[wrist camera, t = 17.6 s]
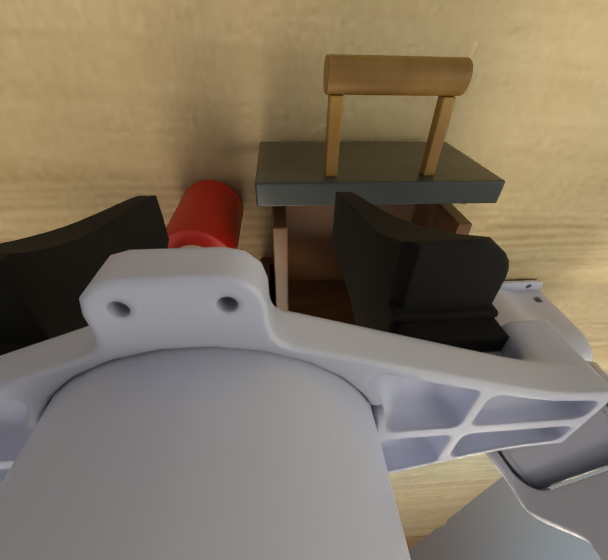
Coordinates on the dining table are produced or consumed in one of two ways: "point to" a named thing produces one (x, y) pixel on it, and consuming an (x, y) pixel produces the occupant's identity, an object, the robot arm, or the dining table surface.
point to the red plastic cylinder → (206, 217)
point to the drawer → (365, 176)
